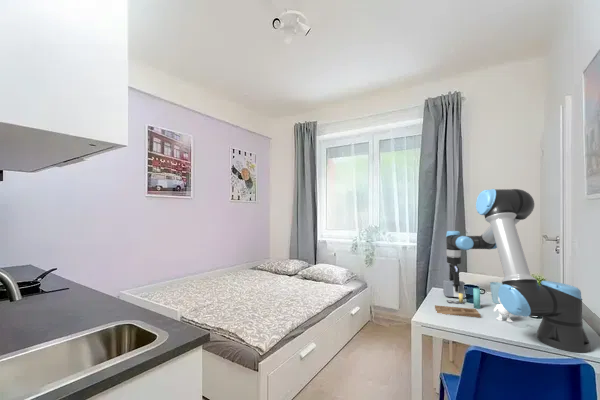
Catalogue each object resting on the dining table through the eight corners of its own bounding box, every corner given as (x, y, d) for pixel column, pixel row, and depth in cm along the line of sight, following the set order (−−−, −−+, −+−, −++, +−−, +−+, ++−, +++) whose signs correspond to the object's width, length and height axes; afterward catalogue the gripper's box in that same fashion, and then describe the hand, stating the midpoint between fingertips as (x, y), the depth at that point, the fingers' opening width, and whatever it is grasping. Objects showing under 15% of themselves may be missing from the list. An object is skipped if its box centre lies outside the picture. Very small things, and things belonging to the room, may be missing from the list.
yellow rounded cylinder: (464, 304, 154) (464, 294, 155) (447, 302, 157) (447, 293, 157) (463, 302, 158) (462, 292, 158) (446, 300, 160) (446, 291, 160)
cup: (509, 303, 156) (508, 284, 156) (503, 305, 152) (503, 286, 152) (493, 299, 162) (493, 281, 163) (488, 302, 158) (487, 283, 158)
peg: (481, 309, 147) (480, 289, 147) (474, 308, 148) (474, 289, 148) (479, 307, 150) (478, 288, 150) (473, 306, 151) (472, 287, 151)
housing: (466, 297, 163) (466, 283, 163) (445, 296, 166) (445, 281, 166) (463, 293, 170) (462, 279, 171) (443, 292, 174) (443, 278, 174)
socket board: (480, 317, 135) (480, 314, 135) (437, 313, 141) (437, 310, 141) (475, 311, 143) (475, 308, 143) (434, 308, 149) (434, 305, 149)
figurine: (514, 320, 132) (513, 295, 132) (515, 324, 128) (515, 297, 128) (493, 317, 136) (492, 292, 136) (494, 320, 132) (493, 295, 132)
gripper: (465, 259, 158) (466, 300, 157) (456, 254, 178) (457, 290, 177) (450, 259, 160) (451, 299, 159) (443, 253, 180) (444, 289, 179)
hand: (454, 294), depth 168 cm, fingers closed on housing, 8 cm apart
